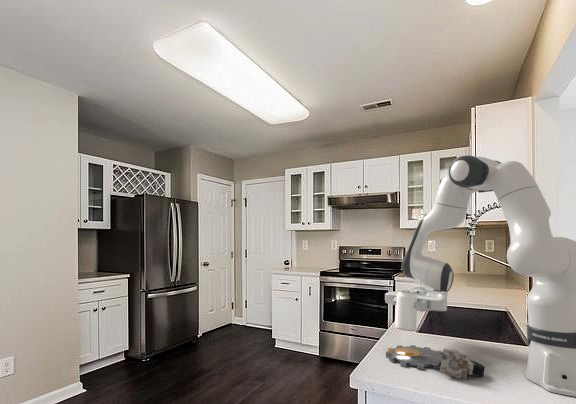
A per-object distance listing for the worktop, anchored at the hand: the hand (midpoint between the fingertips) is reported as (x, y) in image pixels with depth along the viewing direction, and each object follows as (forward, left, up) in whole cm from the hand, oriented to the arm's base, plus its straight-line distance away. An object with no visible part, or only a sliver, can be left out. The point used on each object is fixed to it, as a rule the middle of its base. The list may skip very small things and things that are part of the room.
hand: (404, 304), depth 114 cm
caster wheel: (-18, +2, -17) cm, 25 cm away
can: (0, 0, -8) cm, 8 cm away
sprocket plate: (-3, -1, -17) cm, 17 cm away
